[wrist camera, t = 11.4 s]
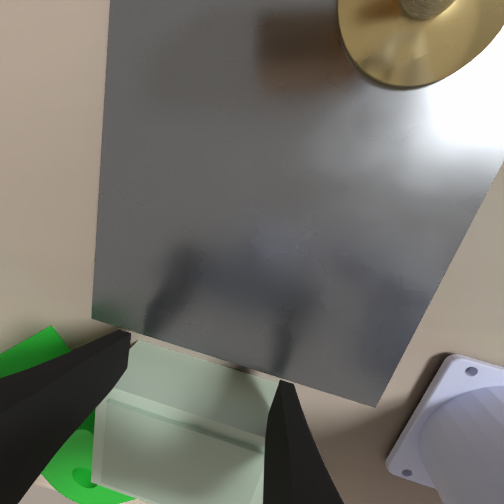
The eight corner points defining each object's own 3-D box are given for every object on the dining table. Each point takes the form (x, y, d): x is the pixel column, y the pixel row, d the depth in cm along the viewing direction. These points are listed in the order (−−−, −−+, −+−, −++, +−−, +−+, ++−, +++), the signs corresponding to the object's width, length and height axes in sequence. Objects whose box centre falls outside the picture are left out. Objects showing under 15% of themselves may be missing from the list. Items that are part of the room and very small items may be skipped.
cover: (287, 381, 13) (287, 449, 10) (257, 463, 15) (249, 545, 12) (142, 336, 14) (93, 385, 11) (131, 421, 16) (87, 486, 12)
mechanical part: (-4, 356, 16) (-267, 507, 8) (54, 323, 15) (-200, 469, 7) (99, 479, 18) (-39, 695, 10) (159, 461, 16) (51, 696, 9)
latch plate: (658, -209, 6) (756, -314, 5) (367, 387, 12) (377, 411, 11) (154, -272, 8) (126, -372, 6) (108, 307, 13) (88, 320, 12)
